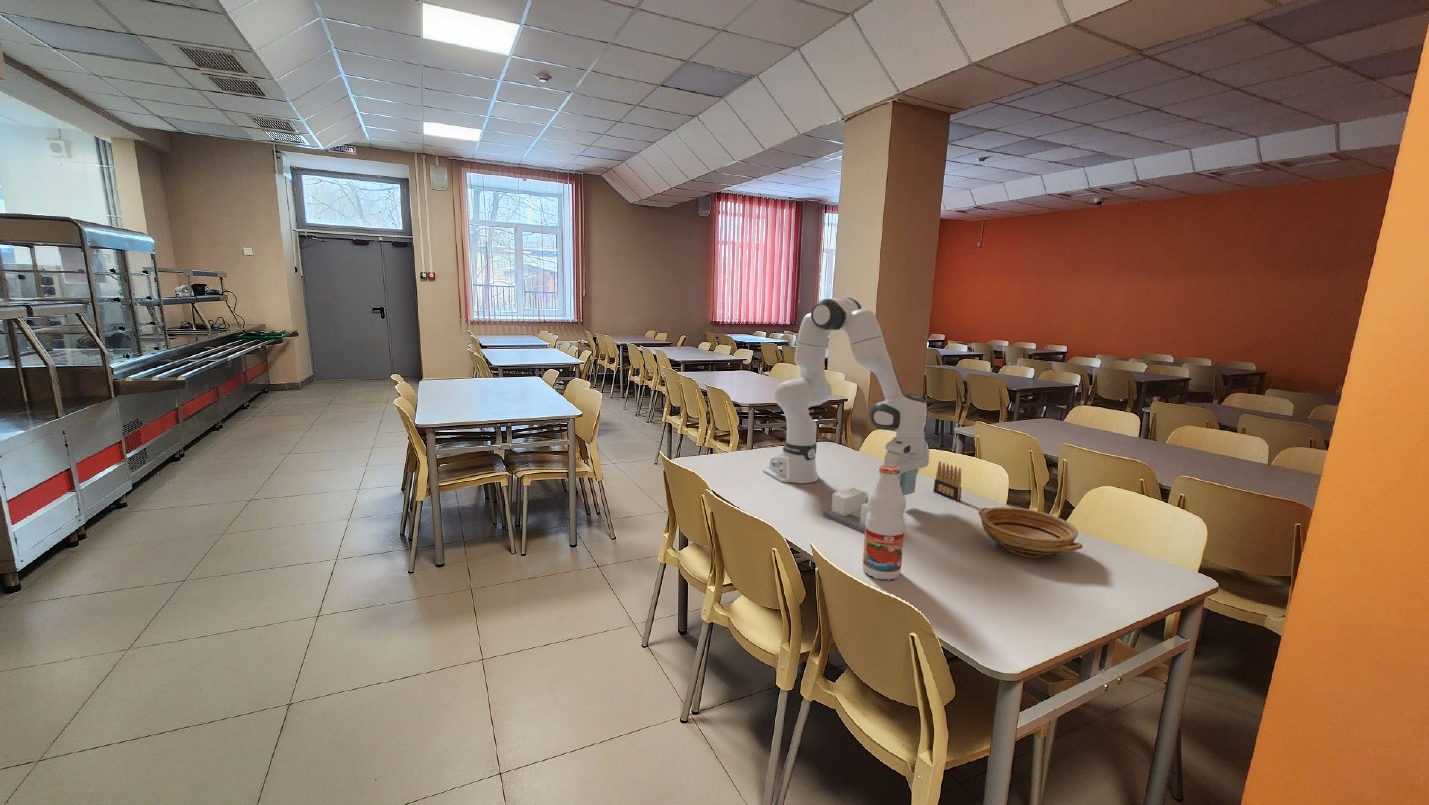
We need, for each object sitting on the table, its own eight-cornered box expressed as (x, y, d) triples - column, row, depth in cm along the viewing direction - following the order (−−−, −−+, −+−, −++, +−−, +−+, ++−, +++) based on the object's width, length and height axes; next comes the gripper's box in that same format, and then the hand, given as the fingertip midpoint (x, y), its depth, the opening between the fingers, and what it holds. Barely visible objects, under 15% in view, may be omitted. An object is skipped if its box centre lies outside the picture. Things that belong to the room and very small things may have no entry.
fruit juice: (897, 565, 148) (905, 463, 143) (903, 583, 139) (913, 474, 134) (860, 562, 149) (867, 460, 144) (864, 579, 140) (872, 471, 135)
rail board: (822, 515, 181) (824, 493, 180) (851, 506, 189) (853, 485, 188) (873, 537, 165) (875, 513, 164) (902, 526, 173) (904, 503, 172)
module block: (893, 491, 189) (895, 469, 188) (904, 488, 193) (906, 466, 191) (903, 495, 186) (906, 472, 185) (914, 492, 190) (917, 469, 188)
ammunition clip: (960, 501, 197) (964, 468, 195) (956, 501, 196) (960, 468, 194) (936, 491, 207) (939, 460, 204) (933, 492, 206) (936, 460, 204)
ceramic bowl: (951, 535, 168) (954, 510, 166) (1006, 523, 178) (1009, 499, 177) (1046, 580, 142) (1050, 551, 140) (1104, 563, 152) (1108, 535, 151)
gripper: (919, 437, 195) (915, 475, 198) (882, 445, 183) (878, 485, 186) (935, 441, 190) (931, 480, 193) (898, 450, 178) (894, 491, 181)
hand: (905, 483), depth 189 cm, fingers closed on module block, 6 cm apart
